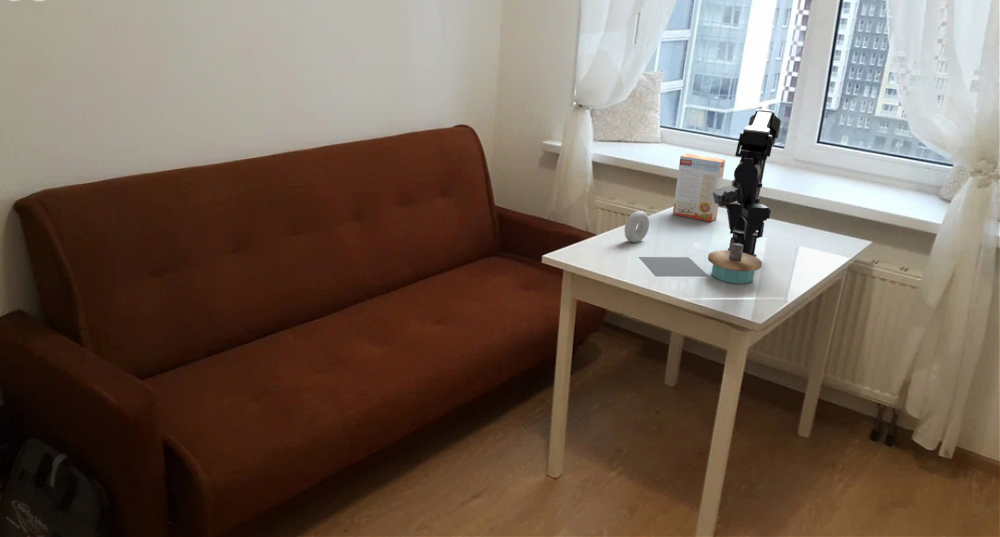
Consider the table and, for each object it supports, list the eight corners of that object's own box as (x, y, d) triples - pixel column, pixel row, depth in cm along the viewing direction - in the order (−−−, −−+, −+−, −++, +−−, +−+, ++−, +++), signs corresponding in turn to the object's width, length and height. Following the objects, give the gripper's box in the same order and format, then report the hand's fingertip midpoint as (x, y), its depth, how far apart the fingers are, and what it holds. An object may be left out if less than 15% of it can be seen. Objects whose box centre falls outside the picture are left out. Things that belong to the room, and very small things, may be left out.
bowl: (741, 271, 212) (744, 255, 211) (759, 286, 202) (762, 268, 201) (705, 271, 211) (708, 255, 209) (721, 286, 201) (724, 268, 199)
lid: (745, 252, 212) (748, 236, 211) (771, 270, 200) (774, 253, 198) (699, 253, 210) (701, 237, 208) (722, 271, 197) (725, 254, 195)
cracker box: (716, 218, 261) (726, 159, 253) (711, 222, 256) (721, 161, 249) (678, 211, 268) (686, 152, 260) (671, 214, 263) (680, 155, 256)
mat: (688, 258, 220) (688, 257, 220) (708, 277, 206) (708, 276, 206) (638, 258, 218) (638, 256, 217) (655, 277, 204) (655, 276, 204)
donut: (629, 247, 227) (633, 215, 224) (620, 243, 229) (623, 212, 226) (649, 241, 234) (653, 209, 230) (640, 238, 236) (644, 207, 232)
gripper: (705, 168, 204) (696, 223, 210) (734, 186, 187) (724, 246, 193) (744, 169, 206) (734, 224, 211) (776, 187, 189) (765, 246, 194)
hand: (738, 234), depth 202 cm, fingers open, 9 cm apart
